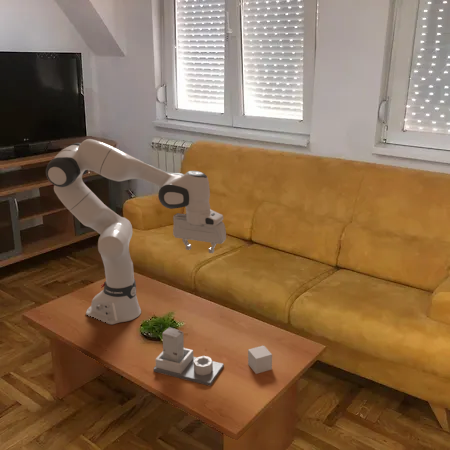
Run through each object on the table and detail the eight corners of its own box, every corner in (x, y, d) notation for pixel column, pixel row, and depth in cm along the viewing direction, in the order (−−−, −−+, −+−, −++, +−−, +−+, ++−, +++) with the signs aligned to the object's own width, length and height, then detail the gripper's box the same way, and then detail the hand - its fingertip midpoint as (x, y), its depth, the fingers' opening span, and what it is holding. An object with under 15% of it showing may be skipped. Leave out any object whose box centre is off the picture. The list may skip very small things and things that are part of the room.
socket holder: (153, 371, 173) (152, 360, 171) (169, 353, 182) (168, 342, 181) (210, 385, 165) (209, 374, 164) (223, 366, 175) (223, 355, 173)
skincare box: (163, 363, 175) (160, 332, 171) (170, 356, 179) (168, 326, 174) (177, 368, 172) (176, 337, 168) (185, 361, 176) (183, 331, 171)
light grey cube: (256, 374, 171) (255, 358, 168) (248, 364, 176) (247, 349, 174) (272, 369, 173) (272, 354, 171) (263, 360, 178) (263, 345, 176)
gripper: (168, 215, 187) (171, 250, 191) (220, 221, 179) (221, 257, 184) (177, 210, 192) (179, 244, 197) (227, 216, 184) (228, 251, 189)
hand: (199, 251), depth 190 cm, fingers open, 8 cm apart
